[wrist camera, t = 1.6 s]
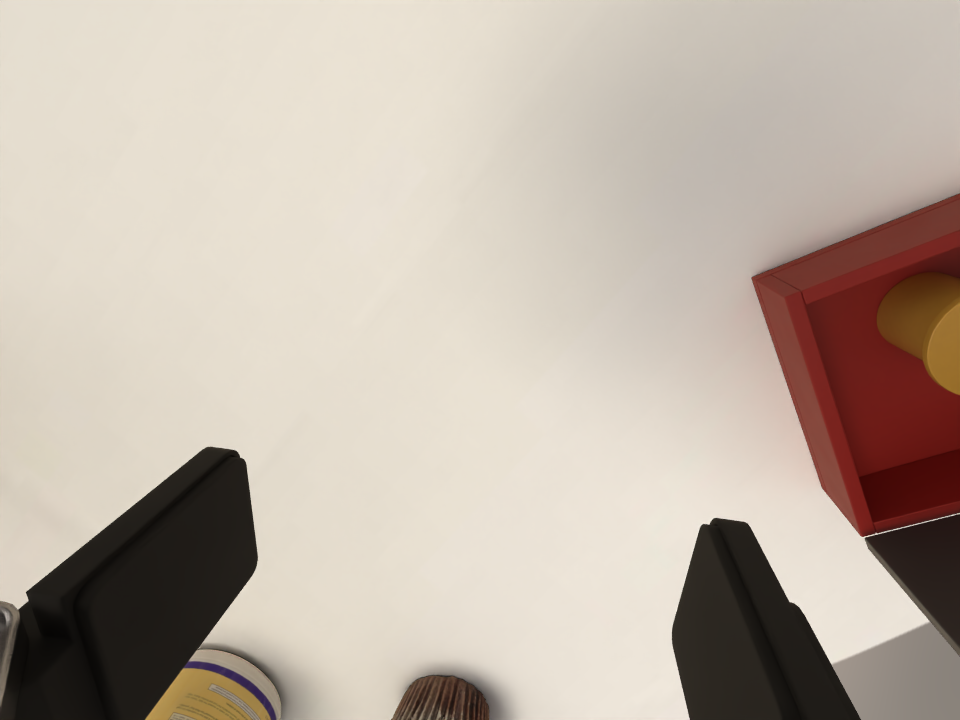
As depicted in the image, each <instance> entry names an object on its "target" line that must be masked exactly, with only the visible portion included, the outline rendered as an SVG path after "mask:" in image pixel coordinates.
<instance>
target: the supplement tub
mask: <svg viewBox="0 0 960 720" xmlns="http://www.w3.org/2000/svg"><path fill="white" fill-rule="evenodd" d="M280 717H281V702H280V698H279V695H278V692H277V690H276V688H275V687H274V685H273V684H272V682H271V681H270V680H269V679H268V678H267V676H266V675H265V674H264V673H263V672H262V671H260V670H259V669H258V668H257V667H255V666H254V665H253V664H251V663H250V662H248V661H246V660H245V659H243V658H241V657H238V656H236V655H234V654H231V653H227V652H223V651H218V650H196V652H195V653H194V654H193V656H192V657H191V659H190V660H189V661H188V663H187V664H186V665H185V667H184V668H183V669H182V671H181V672H180V673H179V675H178V676H177V677H176V679H175V680H174V681H173V683H172V684H171V685H170V687H169V688H168V689H167V691H166V692H165V694H164V695H163V696H162V698H161V699H160V700H159V702H158V703H157V704H156V706H155V707H154V708H153V710H152V711H151V712H150V714H149V715H148V716H147V718H146V719H145V720H280Z"/></svg>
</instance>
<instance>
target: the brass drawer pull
mask: <svg viewBox="0 0 960 720" xmlns="http://www.w3.org/2000/svg"><path fill="white" fill-rule="evenodd" d="M877 327H878V329H879V332H880V334H881V335H882V336H883V338H884V339H885V340H886V341H888V342H889V343H891V344H892V345H894V346H896V347H898V348H899V349H901V350H903V351H905V352H907V353H909V354H910V355H912V356H914V357H916V358H918V359H920V360H921V361H923V363H924V366H925V368H926V370H927V372H928V374H929V376H930V377H931V378H932V379H933V380H934V381H935V382H936V383H937V384H938V385H940V386H941V387H943V388H945V389H946V390H948V391H950V392H952V393H955V394H957V395H960V278H958V277H955V276H951V275H948V274H944V273H939V272H927V273H921V274H917V275H914V276H911V277H909V278H906V279H905V280H903V281H901V282H900V283H898V284H897V285H895V286H894V287H893V288H892V289H891V290H890V291H889V292H888V293H887V294H886V295H885V297H884V298H883V300H882V301H881V303H880V306H879V308H878V312H877Z"/></svg>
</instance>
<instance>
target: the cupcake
mask: <svg viewBox="0 0 960 720" xmlns="http://www.w3.org/2000/svg"><path fill="white" fill-rule="evenodd" d="M391 720H489V707H488V704H487V703H486V699H485V698H484V696H483V694H482V693H481V692H480V691H478V690H477V689H476V688H475V687H474V686H473V685H471V684H469V683H467V682H465V681H464V680H463V679H457V678H456V677H454V676H449V677H443V676H426V677H424V678H420V679H417V680H416V681H415V682H413V683H412V685H410V686H409V688H408V690H407V691H406V693H405V694H404V696H403V698H402V700H401V702H400V704H399V706H398V708H397V709H396V712H395V714H394V716H393V718H392V719H391Z"/></svg>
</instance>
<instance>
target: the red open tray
mask: <svg viewBox="0 0 960 720" xmlns="http://www.w3.org/2000/svg"><path fill="white" fill-rule="evenodd" d="M927 272H939V273H944V274H948V275H951V276H955V277H958V278H960V194H958V195H955V196H953V197H950V198H948V199H945V200H943V201H940V202H938V203H935V204H933V205H930V206H928V207H925V208H923V209H920V210H918V211H915V212H913V213H910V214H908V215H905V216H903V217H900V218H898V219H895V220H893V221H890V222H888V223H886V224H883V225H881V226H878V227H876V228H873V229H871V230H868V231H866V232H863V233H861V234H858V235H856V236H853V237H851V238H848V239H846V240H843V241H841V242H838V243H836V244H833V245H831V246H828V247H826V248H823V249H821V250H818V251H816V252H814V253H811V254H809V255H806V256H804V257H801V258H799V259H796V260H794V261H791V262H789V263H786V264H784V265H781V266H779V267H776V268H774V269H771V270H769V271H766V272H764V273H761V274H759V275H756V276H754V277H752V281H753V284H754V287H755V290H756V293H757V296H758V299H759V302H760V305H761V308H762V311H763V314H764V317H765V320H766V323H767V326H768V329H769V332H770V335H771V338H772V341H773V344H774V347H775V349H776V352H777V355H778V358H779V361H780V364H781V367H782V370H783V373H784V376H785V379H786V382H787V385H788V388H789V391H790V394H791V397H792V400H793V403H794V406H795V409H796V412H797V415H798V418H799V421H800V424H801V427H802V430H803V433H804V435H805V438H806V441H807V444H808V447H809V450H810V453H811V456H812V459H813V462H814V465H815V468H816V471H817V474H818V477H819V480H820V483H821V486H822V489H823V490H824V491H825V492H826V494H827V495H828V496H829V497H830V498H831V500H832V501H833V502H834V503H835V505H836V506H837V507H838V508H839V510H840V511H841V512H842V513H843V515H844V516H845V517H846V518H847V520H848V521H849V522H850V523H851V524H852V526H853V527H854V528H855V529H856V531H857V532H858V533H859V534H860V536H862V537H864V536H868V535H872V534H875V533H881V532H885V531H889V530H893V529H897V528H901V527H905V526H909V525H913V524H917V523H921V522H925V521H929V520H933V519H937V518H941V517H945V516H949V515H953V514H957V513H960V395H957V394H955V393H952V392H950V391H948V390H946V389H945V388H943V387H941V386H940V385H938V384H937V383H936V382H935V381H934V380H933V379H932V378H931V377H930V376H929V374H928V372H927V370H926V368H925V366H924V363H923V361H921V360H920V359H918V358H916V357H914V356H912V355H910V354H909V353H907V352H905V351H903V350H901V349H899V348H898V347H896V346H894V345H892V344H891V343H889V342H888V341H886V340H885V339H884V338H883V336H882V335H881V334H880V332H879V329H878V327H877V312H878V308H879V306H880V303H881V301H882V300H883V298H884V297H885V295H886V294H887V293H888V292H889V291H890V290H891V289H892V288H893V287H894V286H895V285H897V284H898V283H900V282H901V281H903V280H905V279H906V278H909V277H911V276H914V275H917V274H921V273H927Z"/></svg>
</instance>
